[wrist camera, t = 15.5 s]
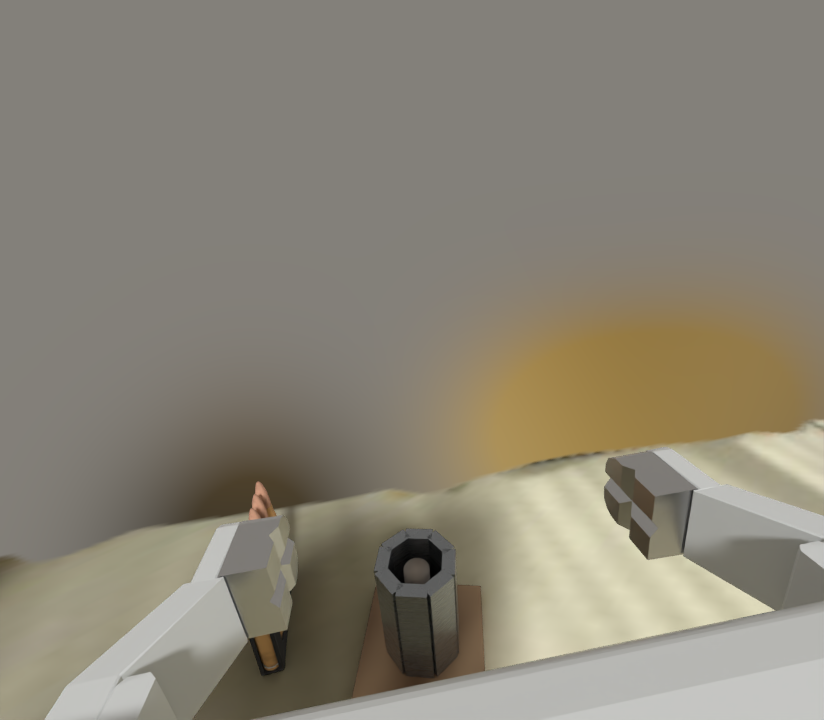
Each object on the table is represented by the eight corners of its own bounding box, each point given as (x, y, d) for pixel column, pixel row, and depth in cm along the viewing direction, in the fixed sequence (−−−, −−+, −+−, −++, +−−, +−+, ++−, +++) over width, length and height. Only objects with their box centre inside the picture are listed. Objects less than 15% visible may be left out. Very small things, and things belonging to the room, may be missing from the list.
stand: (352, 709, 30) (334, 630, 26) (378, 588, 39) (367, 518, 36) (487, 722, 28) (486, 640, 25) (480, 593, 38) (479, 521, 34)
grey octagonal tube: (382, 674, 31) (368, 594, 27) (393, 601, 36) (383, 527, 33) (459, 680, 30) (454, 599, 27) (459, 605, 36) (455, 530, 32)
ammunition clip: (284, 670, 33) (250, 566, 28) (261, 677, 32) (223, 572, 28) (293, 563, 42) (269, 473, 38) (275, 567, 42) (249, 477, 38)
